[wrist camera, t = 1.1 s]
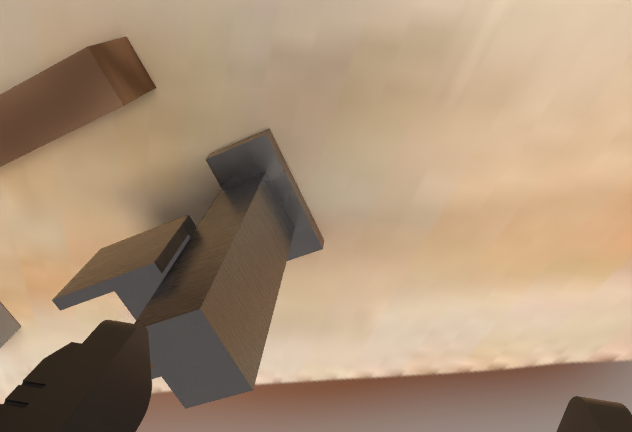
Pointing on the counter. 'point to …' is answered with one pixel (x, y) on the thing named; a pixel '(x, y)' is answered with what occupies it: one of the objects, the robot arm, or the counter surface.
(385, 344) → the counter surface
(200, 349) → the bracket
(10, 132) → the rail
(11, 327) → the rest block
